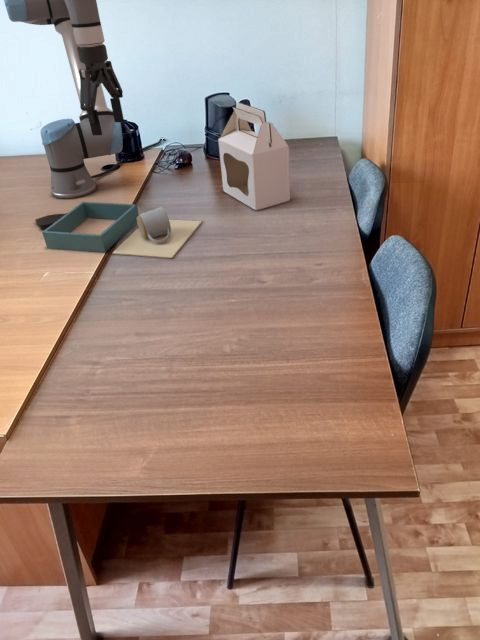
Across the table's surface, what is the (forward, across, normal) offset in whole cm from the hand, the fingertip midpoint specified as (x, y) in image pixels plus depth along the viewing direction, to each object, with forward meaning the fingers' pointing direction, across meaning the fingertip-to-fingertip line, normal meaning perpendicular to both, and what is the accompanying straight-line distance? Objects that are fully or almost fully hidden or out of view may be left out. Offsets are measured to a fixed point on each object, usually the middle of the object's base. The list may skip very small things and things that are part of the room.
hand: (108, 128), depth 154 cm
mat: (+27, +14, +17) cm, 35 cm away
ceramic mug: (+26, +14, +17) cm, 35 cm away
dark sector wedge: (+27, +8, -21) cm, 35 cm away
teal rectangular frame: (+27, +14, -4) cm, 30 cm away
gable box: (+27, -21, +37) cm, 50 cm away
